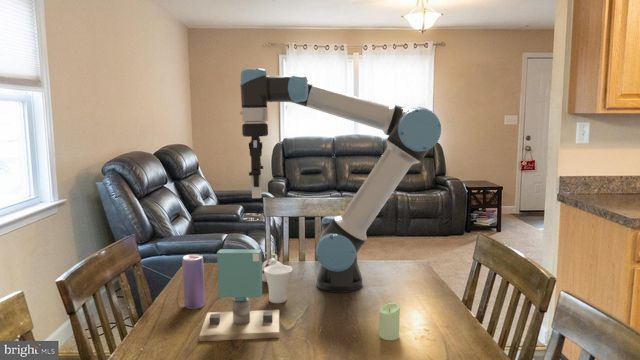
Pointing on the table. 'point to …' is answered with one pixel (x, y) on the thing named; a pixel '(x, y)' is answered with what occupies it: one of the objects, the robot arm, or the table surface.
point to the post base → (240, 330)
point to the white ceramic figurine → (268, 263)
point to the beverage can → (193, 281)
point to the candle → (389, 321)
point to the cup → (278, 282)
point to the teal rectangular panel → (239, 273)
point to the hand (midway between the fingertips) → (257, 194)
